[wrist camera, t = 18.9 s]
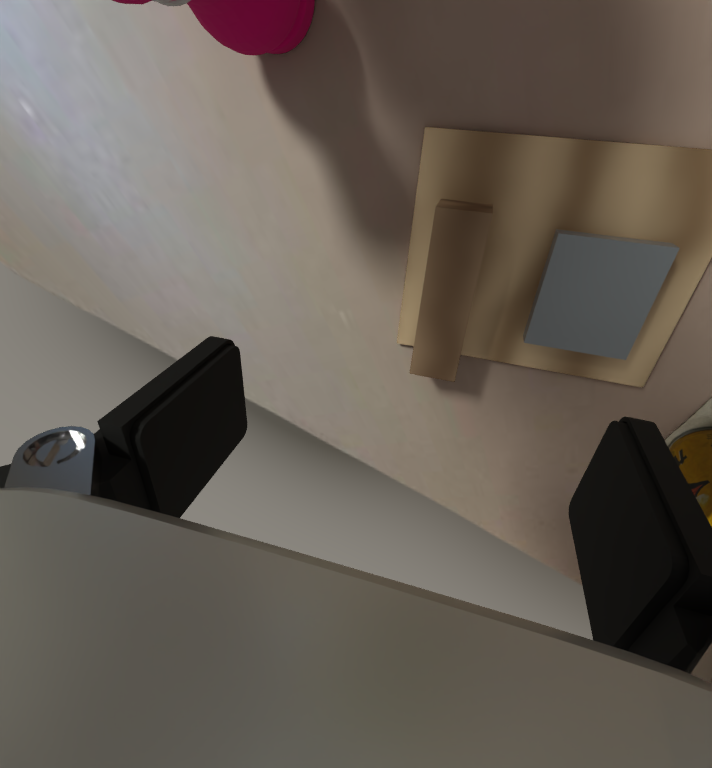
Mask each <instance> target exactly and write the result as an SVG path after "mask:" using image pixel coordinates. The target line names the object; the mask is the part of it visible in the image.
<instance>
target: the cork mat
mask: <svg viewBox="0 0 712 768" xmlns="http://www.w3.org/2000/svg"><path fill="white" fill-rule="evenodd" d="M441 199H449V200H458V201H467V202H476V203H485V204H493V215H492V220H491V224H490V228H489V233H488V237H487V241H486V246H485V250H484V255H483V259H482V263H481V268H480V272H479V277H478V281H477V285H476V290H475V294H474V298H473V303H472V307H471V312H470V316H469V320H468V325H467V329H466V333H465V338H464V342H463V347H462V351H461V355H465V356H470V357H476V358H481V359H487V360H492V361H498V362H504V363H509V364H515V365H520V366H526V367H531V368H537V369H542V370H548V371H553V372H559V373H564V374H570V375H575V376H581V377H586V378H592V379H597V380H603V381H608V382H614V383H619V384H625V385H631V386H636V387H642V388H643V386H644V385H645V383H646V381H647V379H648V377H649V375H650V373H651V371H652V369H653V368H654V366H655V364H656V362H657V360H658V358H659V356H660V354H661V352H662V351H663V349H664V347H665V345H666V343H667V341H668V339H669V337H670V335H671V334H672V332H673V330H674V328H675V326H676V324H677V322H678V320H679V318H680V317H681V315H682V313H683V311H684V309H685V307H686V305H687V303H688V301H689V299H690V298H691V296H692V294H693V292H694V290H695V288H696V286H697V284H698V282H699V281H700V279H701V277H702V275H703V273H704V271H705V269H706V267H707V265H708V264H709V262H710V260H711V258H712V150H710V149H697V148H685V147H672V146H659V145H647V144H634V143H621V142H609V141H596V140H584V139H571V138H558V137H546V136H533V135H521V134H508V133H495V132H483V131H470V130H457V129H445V128H432V127H425V130H424V138H423V146H422V153H421V161H420V169H419V176H418V184H417V192H416V199H415V207H414V215H413V222H412V230H411V238H410V245H409V253H408V261H407V268H406V276H405V284H404V291H403V299H402V307H401V314H400V322H399V330H398V337H397V343H399V344H404V345H410V346H414V342H415V335H416V329H417V323H418V316H419V310H420V303H421V297H422V290H423V284H424V278H425V271H426V265H427V258H428V252H429V246H430V239H431V233H432V226H433V220H434V214H435V207H436V206H437V204H438V203H439V201H440V200H441ZM556 229H559V230H568V231H576V232H584V233H593V234H601V235H610V236H618V237H626V238H635V239H643V240H652V241H660V242H668V243H673V244H675V245H676V246H678V247H679V248H680V249H679V251H678V253H677V255H676V257H675V259H674V261H673V263H672V265H671V268H670V270H669V272H668V274H667V276H666V278H665V280H664V282H663V284H662V286H661V288H660V290H659V292H658V295H657V297H656V299H655V301H654V303H653V305H652V307H651V309H650V311H649V313H648V315H647V317H646V319H645V322H644V324H643V326H642V328H641V330H640V332H639V334H638V336H637V338H636V340H635V342H634V344H633V347H632V349H631V351H630V353H629V355H628V357H627V359H626V360H622V359H616V358H610V357H604V356H599V355H593V354H587V353H581V352H575V351H569V350H563V349H558V348H552V347H546V346H540V345H534V344H528V343H524V340H523V333H524V330H525V327H526V323H527V320H528V317H529V314H530V311H531V307H532V304H533V301H534V298H535V295H536V291H537V288H538V285H539V282H540V279H541V276H542V272H543V269H544V266H545V263H546V260H547V256H548V253H549V250H550V247H551V244H552V240H553V237H554V234H555V231H556Z"/></svg>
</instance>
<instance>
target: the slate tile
mask: <svg viewBox="0 0 712 768" xmlns="http://www.w3.org/2000/svg"><path fill="white" fill-rule="evenodd" d="M679 249H680V248H679V247H678V246H676V245H675V244H673V243H668V242H660V241H652V240H643V239H635V238H626V237H618V236H610V235H601V234H593V233H584V232H576V231H568V230H559V229H556V231H555V234H554V237H553V240H552V244H551V247H550V250H549V253H548V256H547V260H546V263H545V266H544V269H543V272H542V276H541V279H540V282H539V285H538V288H537V291H536V295H535V298H534V301H533V304H532V307H531V311H530V314H529V317H528V320H527V323H526V327H525V330H524V333H523V340H524V343H528V344H534V345H540V346H546V347H552V348H558V349H563V350H569V351H575V352H581V353H587V354H593V355H599V356H604V357H610V358H616V359H622V360H626V359H627V357H628V355H629V353H630V351H631V349H632V347H633V344H634V342H635V340H636V338H637V336H638V334H639V332H640V330H641V328H642V326H643V324H644V322H645V319H646V317H647V315H648V313H649V311H650V309H651V307H652V305H653V303H654V301H655V299H656V297H657V295H658V292H659V290H660V288H661V286H662V284H663V282H664V280H665V278H666V276H667V274H668V272H669V270H670V268H671V265H672V263H673V261H674V259H675V257H676V255H677V253H678V251H679Z"/></svg>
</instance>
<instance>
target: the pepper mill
mask: <svg viewBox="0 0 712 768" xmlns="http://www.w3.org/2000/svg"><path fill="white" fill-rule="evenodd" d="M113 1H116V2H119V3H124V4H144V3H147V2H149V1H157V2H158V3H160V4H163V5H167V6H181V5H183V4H186V3H187V4H188V5H189V7H190V8H191V10H192V11H193V13H194V14H195V16H196V18H197V19H198V21H199V22H200V24H201V25H202V26H203V27H204V28H205V29H206V30H207V31H208V32H209V33H210V34H211V35H212V36H213V37H214V38H215V39H216V40H217V41H218V42H220V43H221V44H223V45H224V46H226V47H228V48H230V49H232V50H234V51H236V52H238V53H242V54H245V55H261V54H264V53H271V54H281V53H286V52H288V51H290V50H292V49H293V48H295V47H296V46H297V45H298V44H299V43H300V42H301V41H302V40H303V38H304V37H305V35H306V33H307V31H308V29H309V27H310V24H311V21H312V17H313V12H314V4H315V0H113Z"/></svg>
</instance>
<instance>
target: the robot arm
mask: <svg viewBox="0 0 712 768" xmlns="http://www.w3.org/2000/svg"><path fill="white" fill-rule="evenodd" d="M98 424H99V427H100V430H98V431H97V432H96V433H95V434H93V433H92V432H91V431H90V430H88V429H86V428H83V427H76V426H68V427H59V428H55V429H51V430H48V431H45V432H43V433H40V434H38V435H36V436H34V437H33V438H31V439H29V440H28V441H26V442H25V443H24V444H23V445H22V446H21V447H20V448H18V450H17V452H16V453H15V455H14V457H13V460H12V464H9V465H5V466H1V467H0V768H712V527H711V525H710V523H709V521H708V519H707V518H706V516H705V514H704V512H703V510H702V508H701V507H700V505H699V503H698V501H697V499H696V497H695V496H694V494H693V492H692V490H691V488H690V486H689V484H688V483H687V481H686V479H685V477H684V475H683V473H682V472H681V470H680V468H679V466H678V464H677V462H676V461H675V459H674V457H673V455H672V453H671V451H670V450H669V448H668V446H667V444H666V442H665V440H664V439H663V437H662V435H661V433H660V431H659V429H658V428H657V426H656V424H655V423H654V422H650V421H645V420H640V419H635V418H630V417H623V418H621V419H620V420H619V422H617V421H612V422H611V423H610V424H609V426H608V428H607V430H606V432H605V434H604V436H603V438H602V440H601V442H600V444H599V446H598V448H597V450H596V452H595V454H594V456H593V458H592V460H591V462H590V464H589V466H588V468H587V470H586V471H585V473H584V475H583V477H582V479H581V481H580V483H579V485H578V487H577V489H576V491H575V493H574V495H573V497H572V499H571V502H570V505H569V519H570V524H571V529H572V534H573V539H574V544H575V549H576V554H577V559H578V565H579V570H580V575H581V580H582V585H583V590H584V595H585V599H586V605H587V610H588V615H589V620H590V625H591V630H592V636H593V640H590V639H587V638H584V637H581V636H577V635H574V634H571V633H568V632H565V631H561V630H558V629H555V628H552V627H549V626H546V625H542V624H539V623H536V622H532V621H529V620H525V619H522V618H519V617H516V616H512V615H509V614H505V613H502V612H499V611H495V610H492V609H489V608H485V607H482V606H479V605H475V604H472V603H469V602H465V601H462V600H459V599H455V598H452V597H449V596H445V595H442V594H438V593H435V592H432V591H428V590H425V589H421V588H418V587H415V586H412V585H408V584H404V583H401V582H398V581H395V580H391V579H388V578H384V577H381V576H377V575H374V574H370V573H367V572H364V571H360V570H357V569H354V568H350V567H346V566H343V565H340V564H336V563H333V562H330V561H326V560H322V559H319V558H316V557H312V556H309V555H306V554H302V553H299V552H295V551H292V550H288V549H285V548H281V547H278V546H275V545H271V544H268V543H264V542H261V541H257V540H253V539H250V538H247V537H243V536H240V535H236V534H233V533H229V532H226V531H222V530H219V529H215V528H212V527H208V526H205V525H201V524H198V523H194V522H191V521H187V520H183V519H180V517H181V516H182V514H183V513H184V512H185V511H186V509H187V508H188V507H189V505H190V504H191V503H192V502H193V501H194V499H195V498H196V497H197V495H198V494H199V493H200V491H201V490H202V489H203V488H204V487H205V485H206V484H207V483H208V482H209V480H210V479H211V478H212V476H213V475H214V474H215V473H216V471H217V470H218V469H219V468H220V466H221V465H222V464H223V462H224V461H225V460H226V459H227V457H228V456H229V455H230V453H231V452H232V451H233V450H234V449H235V447H236V446H237V444H238V443H239V442H240V441H241V440H242V438H243V437H244V435H245V433H246V430H247V416H246V407H245V397H244V387H243V377H242V368H241V358H240V350H239V348H238V347H237V346H235V344H234V343H233V341H232V340H229V339H224V338H219V337H213V336H210V337H208V338H207V339H205V340H204V341H203V342H201V343H200V344H199V345H198V346H196V347H195V348H194V349H192V350H191V351H190V352H188V353H187V354H186V355H184V356H183V357H182V358H180V359H179V360H178V361H176V362H175V363H174V364H172V365H171V366H170V367H169V368H167V369H166V370H165V371H163V372H162V373H161V374H159V375H158V376H157V377H155V378H154V379H153V380H151V381H150V382H149V383H147V384H146V385H145V386H143V387H142V388H141V389H140V390H138V391H137V392H136V393H134V394H133V395H132V396H130V397H129V398H128V399H126V400H125V401H124V402H122V403H121V404H120V405H119V406H117V407H116V408H114V409H113V410H112V411H111V412H109V413H108V414H107V415H105V416H104V417H103V418H101V419H100V420H99V421H98Z"/></svg>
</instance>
